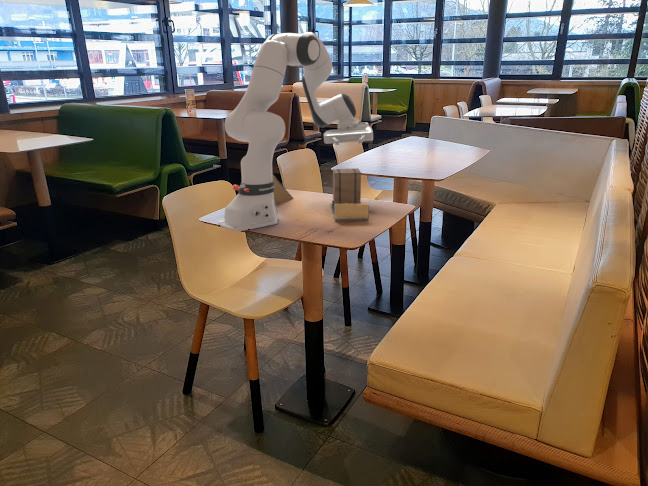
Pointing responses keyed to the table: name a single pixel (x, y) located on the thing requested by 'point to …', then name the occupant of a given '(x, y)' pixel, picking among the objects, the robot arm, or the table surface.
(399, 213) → the table surface
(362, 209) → the roller track
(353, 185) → the crate
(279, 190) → the sandwich container
